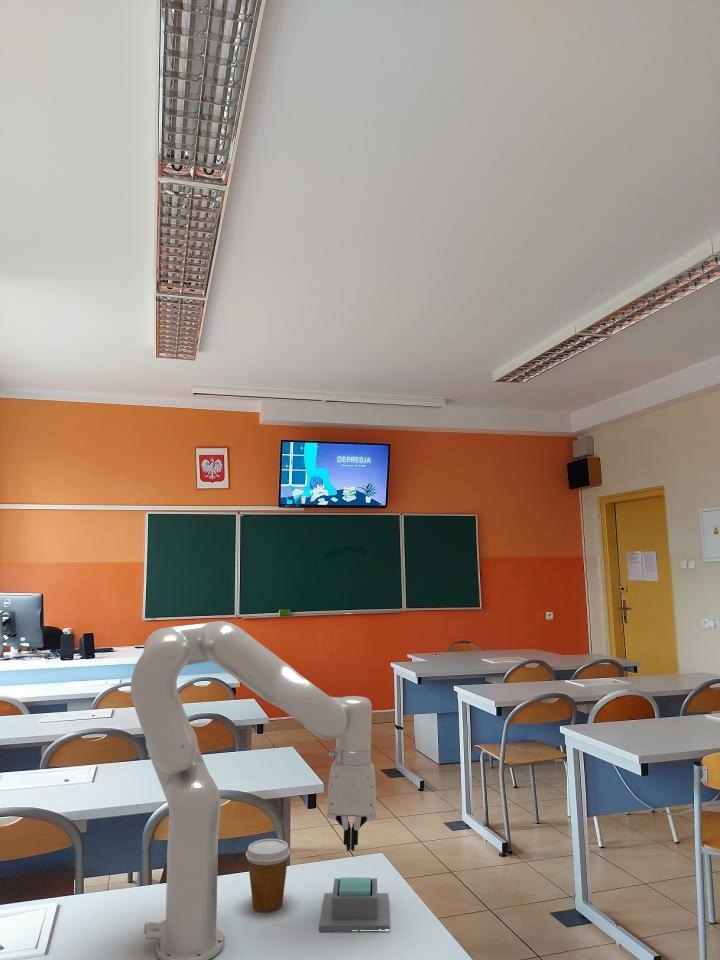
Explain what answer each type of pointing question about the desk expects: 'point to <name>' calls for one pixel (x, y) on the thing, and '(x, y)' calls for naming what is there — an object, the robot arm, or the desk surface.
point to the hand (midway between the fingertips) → (350, 848)
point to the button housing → (354, 910)
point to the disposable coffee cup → (267, 873)
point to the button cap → (355, 886)
